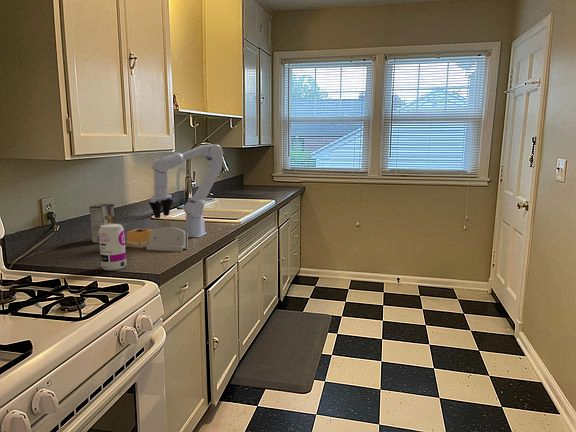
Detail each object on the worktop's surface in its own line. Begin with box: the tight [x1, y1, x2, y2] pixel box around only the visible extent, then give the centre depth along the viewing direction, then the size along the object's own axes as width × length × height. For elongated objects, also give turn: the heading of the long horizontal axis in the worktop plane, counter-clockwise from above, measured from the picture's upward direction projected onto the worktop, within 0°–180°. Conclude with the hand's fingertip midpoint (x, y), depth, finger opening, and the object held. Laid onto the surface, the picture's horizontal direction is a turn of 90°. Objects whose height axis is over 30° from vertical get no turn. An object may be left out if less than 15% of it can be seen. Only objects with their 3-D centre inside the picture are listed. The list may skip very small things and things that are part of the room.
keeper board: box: [125, 228, 149, 249], centre depth 190 cm, size 14×10×6 cm
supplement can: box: [99, 223, 127, 271], centre depth 153 cm, size 8×8×15 cm
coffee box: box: [89, 203, 116, 244], centre depth 196 cm, size 9×6×16 cm
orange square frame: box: [126, 228, 155, 242], centre depth 191 cm, size 8×8×4 cm
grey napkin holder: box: [145, 226, 189, 253], centre depth 181 cm, size 17×5×10 cm, turn 76°
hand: (161, 216), depth 197 cm, fingers open, 7 cm apart
